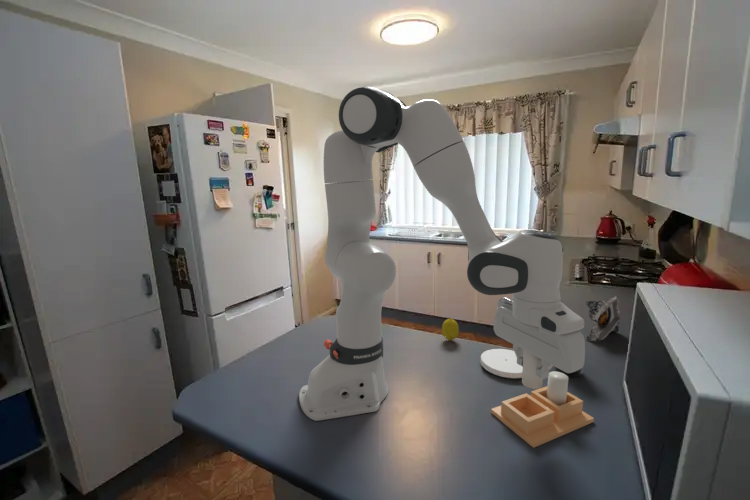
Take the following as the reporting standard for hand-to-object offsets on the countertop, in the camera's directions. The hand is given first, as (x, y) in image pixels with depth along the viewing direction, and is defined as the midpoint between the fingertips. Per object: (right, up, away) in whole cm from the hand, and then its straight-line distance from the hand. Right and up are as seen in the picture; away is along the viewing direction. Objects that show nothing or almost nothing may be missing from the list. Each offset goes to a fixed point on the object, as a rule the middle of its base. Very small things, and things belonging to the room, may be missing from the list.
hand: (532, 370), depth 74 cm
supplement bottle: (+20, -8, +23) cm, 32 cm away
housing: (+4, -12, +4) cm, 13 cm away
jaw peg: (0, -3, +1) cm, 3 cm away
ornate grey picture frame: (+44, -4, +45) cm, 63 cm away
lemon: (-8, -5, +43) cm, 44 cm away
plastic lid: (+4, -9, +26) cm, 28 cm away
